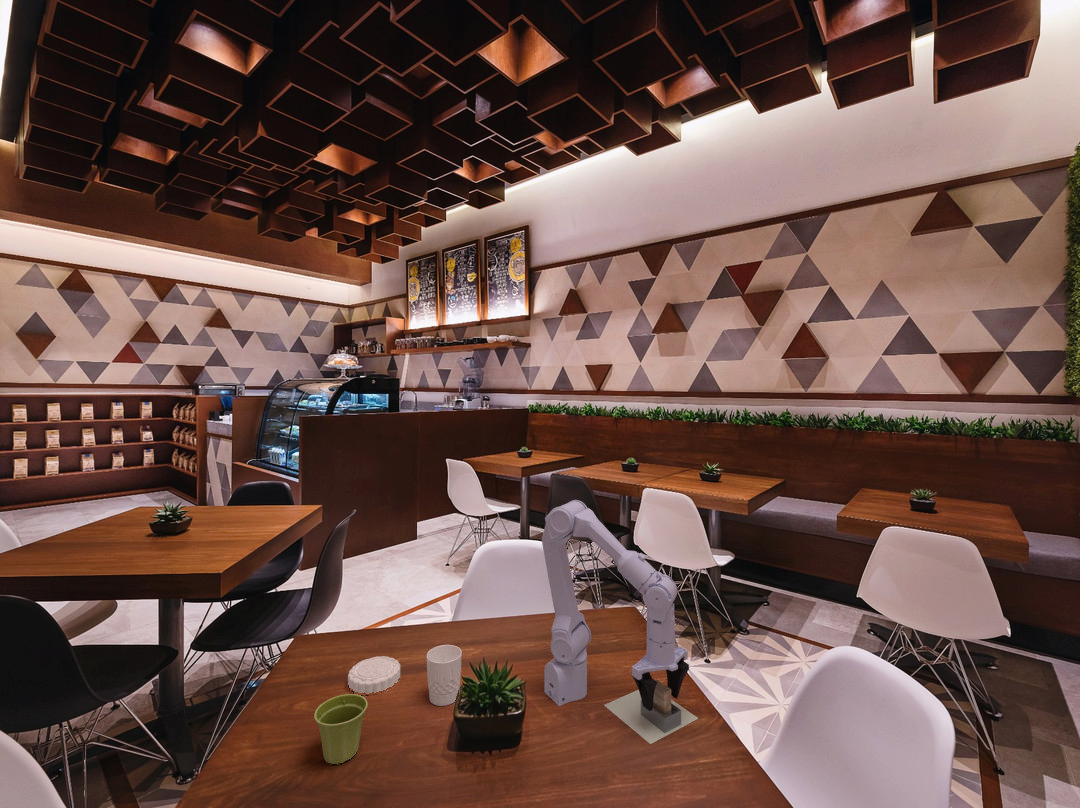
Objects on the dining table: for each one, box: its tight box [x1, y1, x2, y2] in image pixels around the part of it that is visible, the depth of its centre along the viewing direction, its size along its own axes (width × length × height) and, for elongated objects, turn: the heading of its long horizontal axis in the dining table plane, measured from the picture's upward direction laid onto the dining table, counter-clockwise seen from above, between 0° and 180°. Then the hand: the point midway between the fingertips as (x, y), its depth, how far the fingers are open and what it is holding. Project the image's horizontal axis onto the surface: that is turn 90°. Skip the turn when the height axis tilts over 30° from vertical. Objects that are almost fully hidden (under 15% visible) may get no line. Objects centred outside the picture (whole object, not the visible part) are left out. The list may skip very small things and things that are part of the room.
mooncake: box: [347, 655, 401, 694], centre depth 114 cm, size 12×12×4 cm
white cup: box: [426, 644, 463, 707], centre depth 108 cm, size 8×8×10 cm
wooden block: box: [653, 679, 672, 715], centre depth 99 cm, size 2×4×7 cm, turn 32°
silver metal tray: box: [641, 700, 681, 733], centre depth 99 cm, size 5×7×3 cm
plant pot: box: [313, 693, 368, 765], centre depth 91 cm, size 9×9×9 cm
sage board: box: [603, 689, 699, 745], centre depth 101 cm, size 14×14×1 cm
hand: (660, 701), depth 99 cm, fingers open, 7 cm apart
